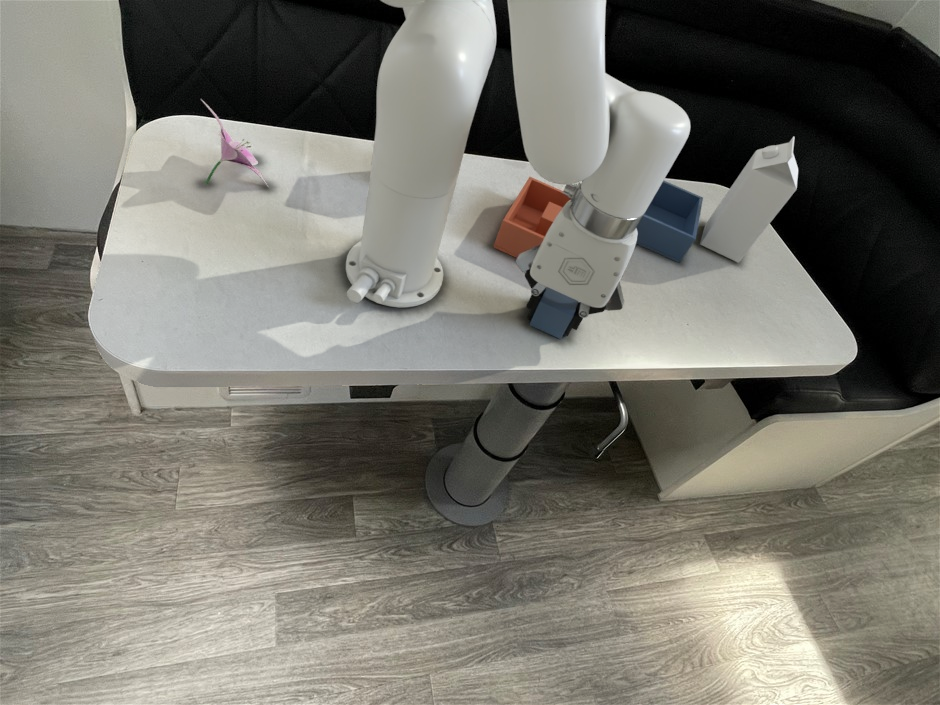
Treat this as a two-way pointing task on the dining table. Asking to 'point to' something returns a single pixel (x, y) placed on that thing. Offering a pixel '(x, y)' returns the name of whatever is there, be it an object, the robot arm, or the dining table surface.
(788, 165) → the milk carton
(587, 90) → the robot arm
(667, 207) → the slate bin
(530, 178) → the terracotta bin
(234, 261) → the dining table surface
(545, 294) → the slate block
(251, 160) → the lily
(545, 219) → the terracotta block
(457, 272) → the dining table surface
